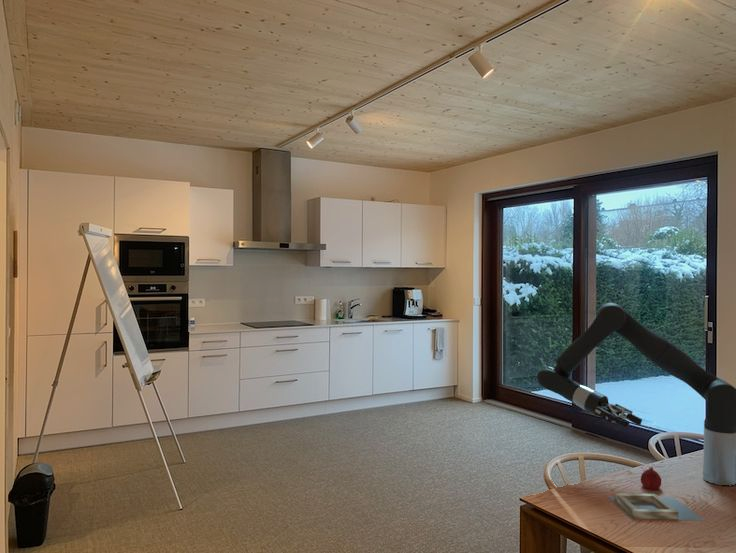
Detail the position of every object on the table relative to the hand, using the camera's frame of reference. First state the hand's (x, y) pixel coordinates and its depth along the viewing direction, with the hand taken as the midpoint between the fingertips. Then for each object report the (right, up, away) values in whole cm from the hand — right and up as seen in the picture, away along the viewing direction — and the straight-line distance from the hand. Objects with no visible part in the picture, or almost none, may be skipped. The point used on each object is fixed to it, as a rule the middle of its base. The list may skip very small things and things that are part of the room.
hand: (634, 423), depth 175 cm
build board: (-4, -20, -19) cm, 28 cm away
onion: (+3, -21, -4) cm, 21 cm away
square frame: (-7, -19, -20) cm, 29 cm away
